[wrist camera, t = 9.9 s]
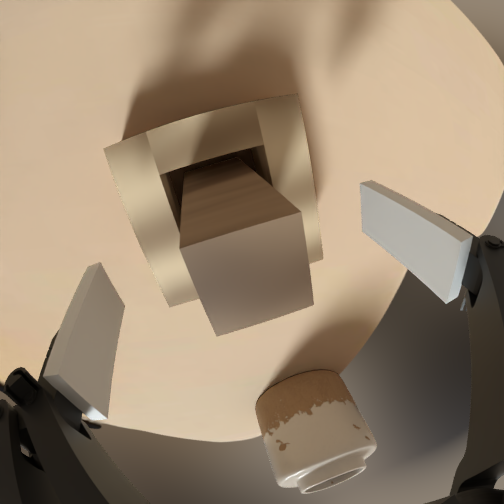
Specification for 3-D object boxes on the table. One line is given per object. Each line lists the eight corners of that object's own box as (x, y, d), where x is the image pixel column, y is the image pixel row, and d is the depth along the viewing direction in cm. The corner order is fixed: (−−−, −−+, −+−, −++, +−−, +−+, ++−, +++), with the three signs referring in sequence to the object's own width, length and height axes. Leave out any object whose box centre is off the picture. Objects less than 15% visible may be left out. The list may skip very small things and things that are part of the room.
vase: (356, 379, 43) (398, 452, 28) (295, 423, 46) (322, 493, 32) (304, 358, 36) (353, 461, 21) (235, 411, 39) (258, 503, 25)
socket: (121, 142, 19) (103, 148, 15) (275, 97, 20) (297, 93, 16) (171, 274, 25) (169, 307, 21) (301, 234, 27) (323, 259, 22)
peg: (184, 172, 22) (179, 248, 9) (237, 157, 22) (301, 212, 10) (199, 221, 24) (216, 336, 12) (249, 206, 24) (313, 304, 12)
